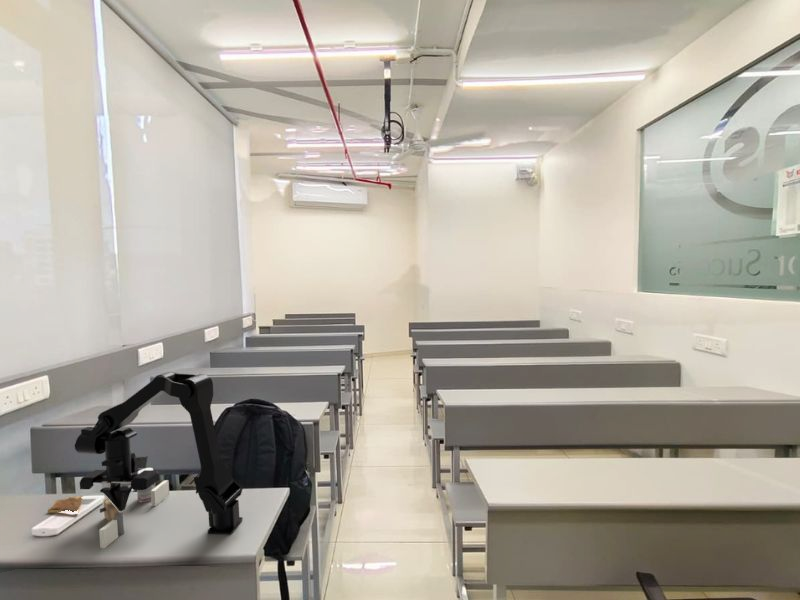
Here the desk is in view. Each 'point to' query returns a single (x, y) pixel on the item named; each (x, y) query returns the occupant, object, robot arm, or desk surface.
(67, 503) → the shard
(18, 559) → the desk surface
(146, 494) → the pill bottle
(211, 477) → the robot arm
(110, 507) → the wooden plank
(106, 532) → the pair of white blocks
